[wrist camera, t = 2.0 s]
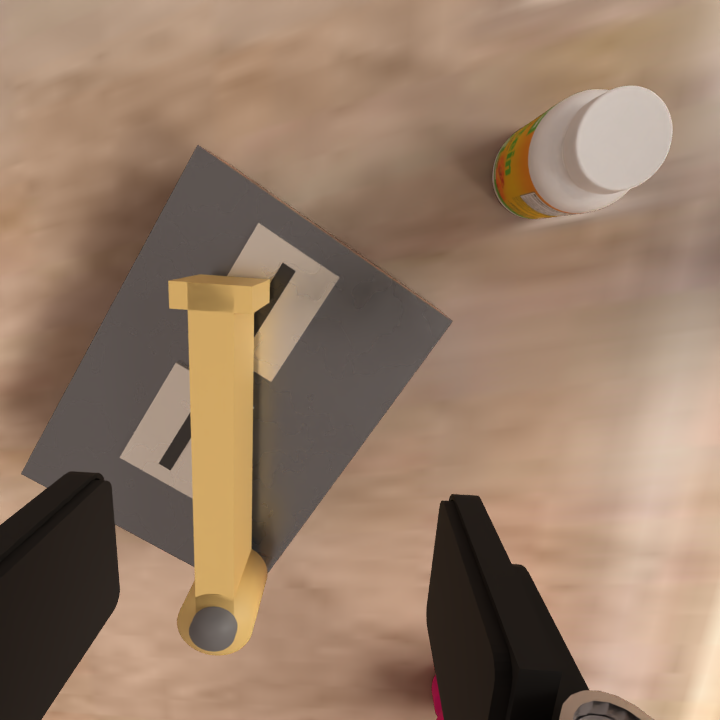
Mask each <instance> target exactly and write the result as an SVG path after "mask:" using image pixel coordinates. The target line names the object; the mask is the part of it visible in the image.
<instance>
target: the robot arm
mask: <svg viewBox="0 0 720 720" xmlns="http://www.w3.org/2000/svg"><path fill="white" fill-rule="evenodd" d="M119 593H120V585H119V573H118V560H117V547H116V534H115V521H114V508H113V495H112V486H111V483H110V482H109V481H105V480H104V477H103V475H102V474H100V473H92V472H76V471H70V472H68V473H66V474H64V475H63V476H62V477H61V478H59V479H58V480H57V481H56V482H54V483H53V484H52V485H50V486H49V487H48V488H47V489H45V490H44V491H43V492H42V493H40V494H39V495H38V496H37V497H35V498H34V499H33V500H31V501H30V502H29V503H28V504H26V505H25V506H24V507H23V508H21V509H20V510H19V511H18V512H16V513H15V514H14V515H12V516H11V517H10V518H9V519H7V520H6V521H5V522H4V523H2V524H1V525H0V720H41V719H42V718H43V716H44V715H45V713H46V712H47V710H48V709H49V707H50V706H51V704H52V703H53V701H54V700H55V698H56V697H57V695H58V694H59V692H60V691H61V689H62V688H63V686H64V685H65V683H66V682H67V680H68V679H69V677H70V676H71V674H72V673H73V671H74V670H75V668H76V667H77V665H78V664H79V662H80V661H81V659H82V657H83V656H84V654H85V653H86V651H87V650H88V648H89V647H90V645H91V644H92V642H93V641H94V639H95V638H96V636H97V635H98V633H99V632H100V630H101V629H102V627H103V626H104V624H105V623H106V621H107V620H108V618H109V617H110V615H111V614H112V612H113V611H114V609H115V607H116V605H117V602H118V599H119ZM426 617H427V628H428V634H429V639H430V645H431V651H432V656H433V662H434V667H435V673H436V679H437V684H438V690H439V695H440V701H441V706H442V712H443V718H444V720H654V719H653V718H651V717H650V716H649V715H647V714H646V713H645V712H643V711H642V710H641V709H640V708H638V707H637V706H635V705H634V704H632V703H630V702H628V701H626V700H624V699H622V698H620V697H618V696H616V695H612V694H609V693H606V692H602V691H590V690H589V689H588V687H587V685H586V683H585V681H584V679H583V677H582V675H581V673H580V671H579V669H578V667H577V665H576V664H575V662H574V660H573V658H572V656H571V654H570V652H569V650H568V648H567V646H566V644H565V642H564V640H563V638H562V636H561V634H560V632H559V631H558V629H557V627H556V625H555V623H554V621H553V619H552V617H551V615H550V613H549V611H548V609H547V607H546V605H545V603H544V601H543V599H542V598H541V596H540V594H539V592H538V590H537V588H536V586H535V584H534V582H533V580H532V578H531V576H530V574H529V572H528V571H527V570H526V568H525V567H524V566H522V565H518V564H511V562H510V559H509V557H508V555H507V553H506V551H505V549H504V547H503V545H502V543H501V541H500V538H499V536H498V534H497V532H496V530H495V528H494V526H493V524H492V522H491V520H490V517H489V515H488V513H487V511H486V509H485V507H484V505H483V503H482V501H481V499H480V497H479V496H474V495H457V494H452V495H451V496H450V498H449V501H441V503H440V508H439V515H438V523H437V531H436V539H435V546H434V554H433V562H432V570H431V577H430V585H429V593H428V601H427V612H426Z"/></svg>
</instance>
